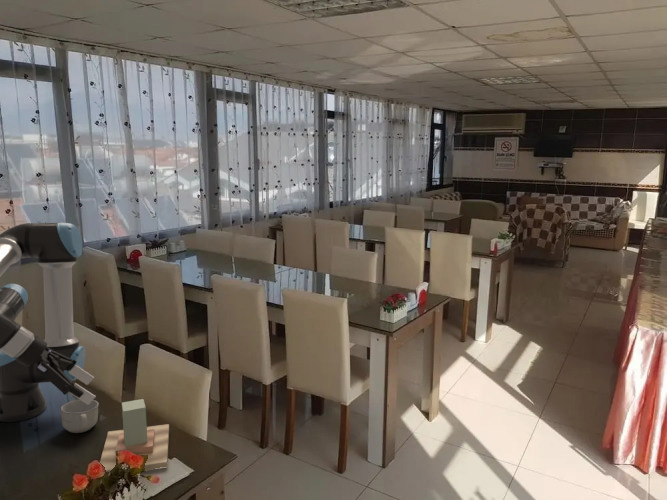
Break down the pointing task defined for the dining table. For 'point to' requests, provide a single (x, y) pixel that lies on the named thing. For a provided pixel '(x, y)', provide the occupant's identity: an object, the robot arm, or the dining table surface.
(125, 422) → the pillar block
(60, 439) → the dining table surface
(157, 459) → the stand
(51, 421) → the dining table surface
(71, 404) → the teacup
